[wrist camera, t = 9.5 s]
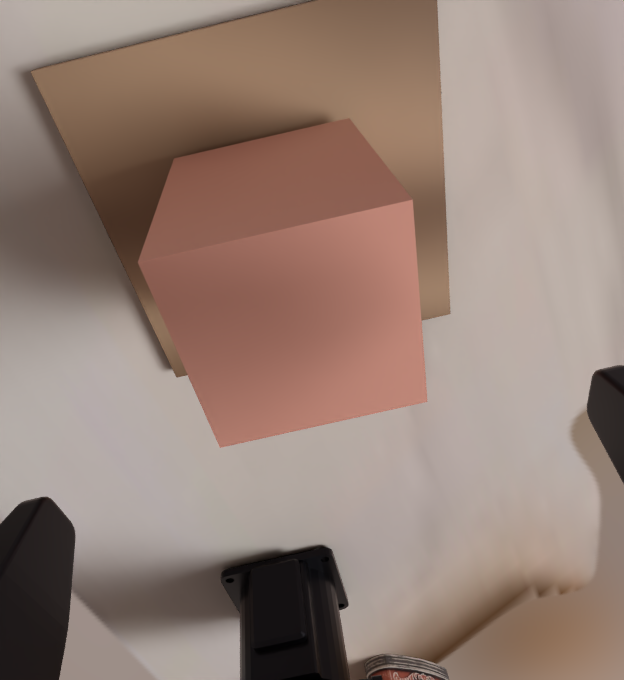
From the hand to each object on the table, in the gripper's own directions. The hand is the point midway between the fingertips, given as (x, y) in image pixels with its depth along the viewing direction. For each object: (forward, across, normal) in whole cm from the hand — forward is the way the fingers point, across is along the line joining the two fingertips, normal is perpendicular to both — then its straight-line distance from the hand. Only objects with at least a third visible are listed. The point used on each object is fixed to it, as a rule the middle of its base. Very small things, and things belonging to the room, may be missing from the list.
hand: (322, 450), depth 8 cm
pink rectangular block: (+10, 0, 0) cm, 10 cm away
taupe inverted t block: (+11, 0, 0) cm, 11 cm away
